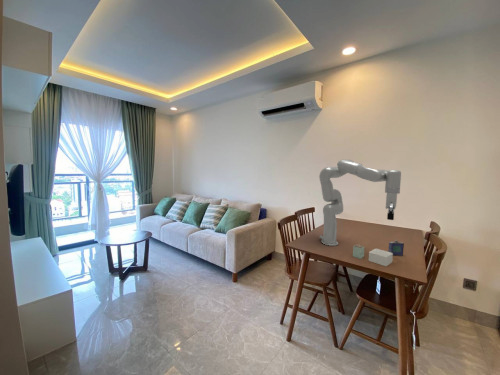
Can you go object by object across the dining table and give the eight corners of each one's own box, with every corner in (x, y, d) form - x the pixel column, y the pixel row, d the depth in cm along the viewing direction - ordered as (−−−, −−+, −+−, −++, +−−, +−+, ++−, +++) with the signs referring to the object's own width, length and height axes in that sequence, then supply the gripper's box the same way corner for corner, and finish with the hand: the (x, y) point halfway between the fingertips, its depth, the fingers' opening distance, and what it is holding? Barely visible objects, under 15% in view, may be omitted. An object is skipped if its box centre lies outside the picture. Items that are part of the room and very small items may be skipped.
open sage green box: (352, 256, 142) (353, 245, 141) (356, 254, 145) (356, 243, 144) (360, 258, 138) (360, 247, 137) (363, 256, 141) (364, 246, 140)
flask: (389, 255, 143) (390, 240, 142) (387, 253, 146) (387, 238, 145) (403, 256, 142) (405, 240, 141) (401, 254, 145) (402, 239, 144)
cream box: (368, 261, 135) (369, 252, 135) (375, 257, 141) (375, 248, 141) (385, 266, 127) (386, 257, 127) (392, 262, 133) (392, 253, 133)
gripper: (385, 189, 137) (383, 214, 139) (384, 191, 123) (382, 220, 125) (399, 189, 133) (397, 216, 135) (400, 192, 119) (398, 222, 120)
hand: (390, 218), depth 130 cm, fingers open, 9 cm apart
